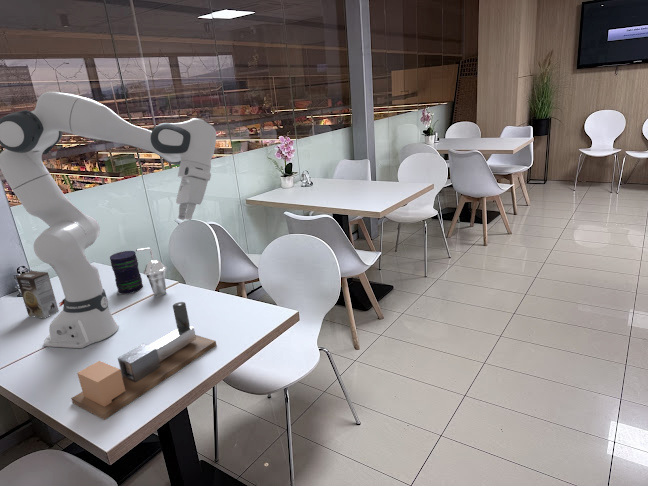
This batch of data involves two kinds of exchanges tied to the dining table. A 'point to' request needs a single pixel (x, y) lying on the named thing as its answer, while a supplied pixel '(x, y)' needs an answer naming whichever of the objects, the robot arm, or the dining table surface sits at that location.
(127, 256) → the storage jar
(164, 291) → the cup with straw
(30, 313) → the coffee box
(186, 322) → the grey piece
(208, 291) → the dining table surface
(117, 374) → the socket block
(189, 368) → the dining table surface
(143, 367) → the metal sleeve
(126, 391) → the walnut board
